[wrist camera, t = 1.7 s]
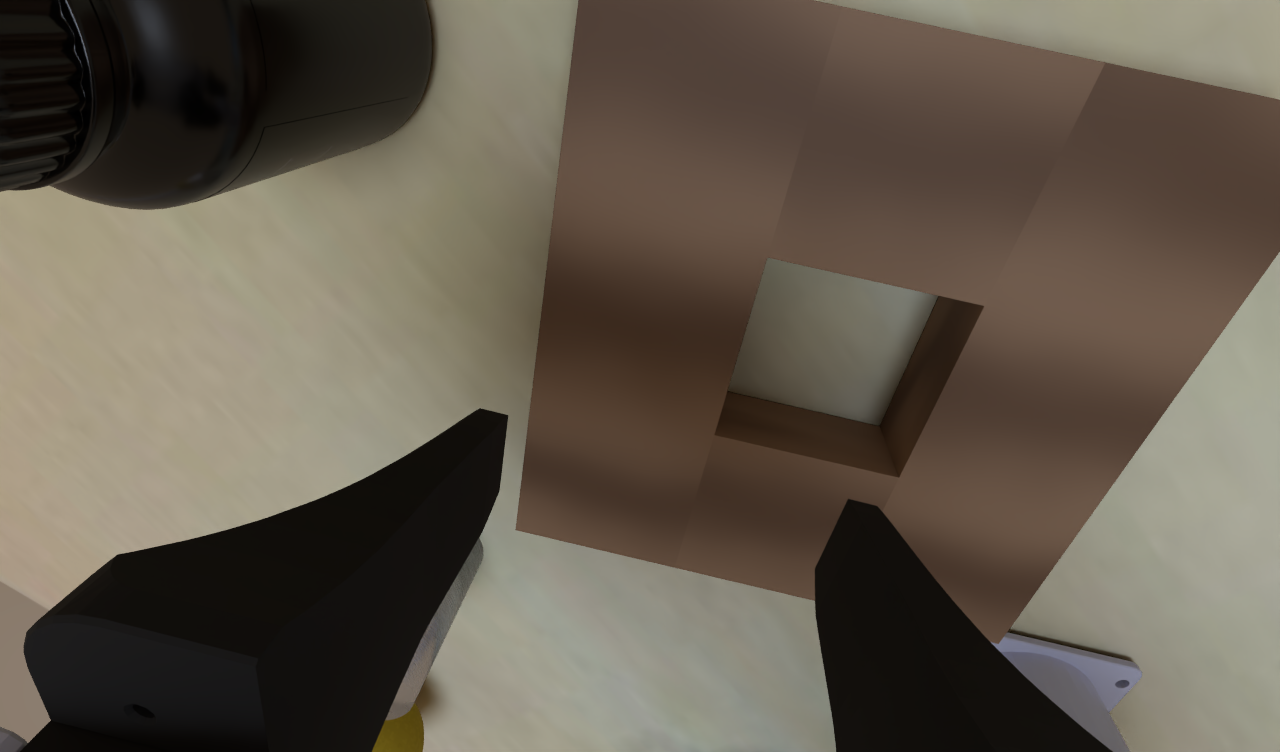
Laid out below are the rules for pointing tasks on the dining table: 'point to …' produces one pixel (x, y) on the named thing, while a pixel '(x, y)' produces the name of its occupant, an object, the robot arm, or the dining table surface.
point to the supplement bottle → (198, 91)
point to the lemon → (402, 733)
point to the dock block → (882, 252)
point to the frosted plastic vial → (435, 636)
